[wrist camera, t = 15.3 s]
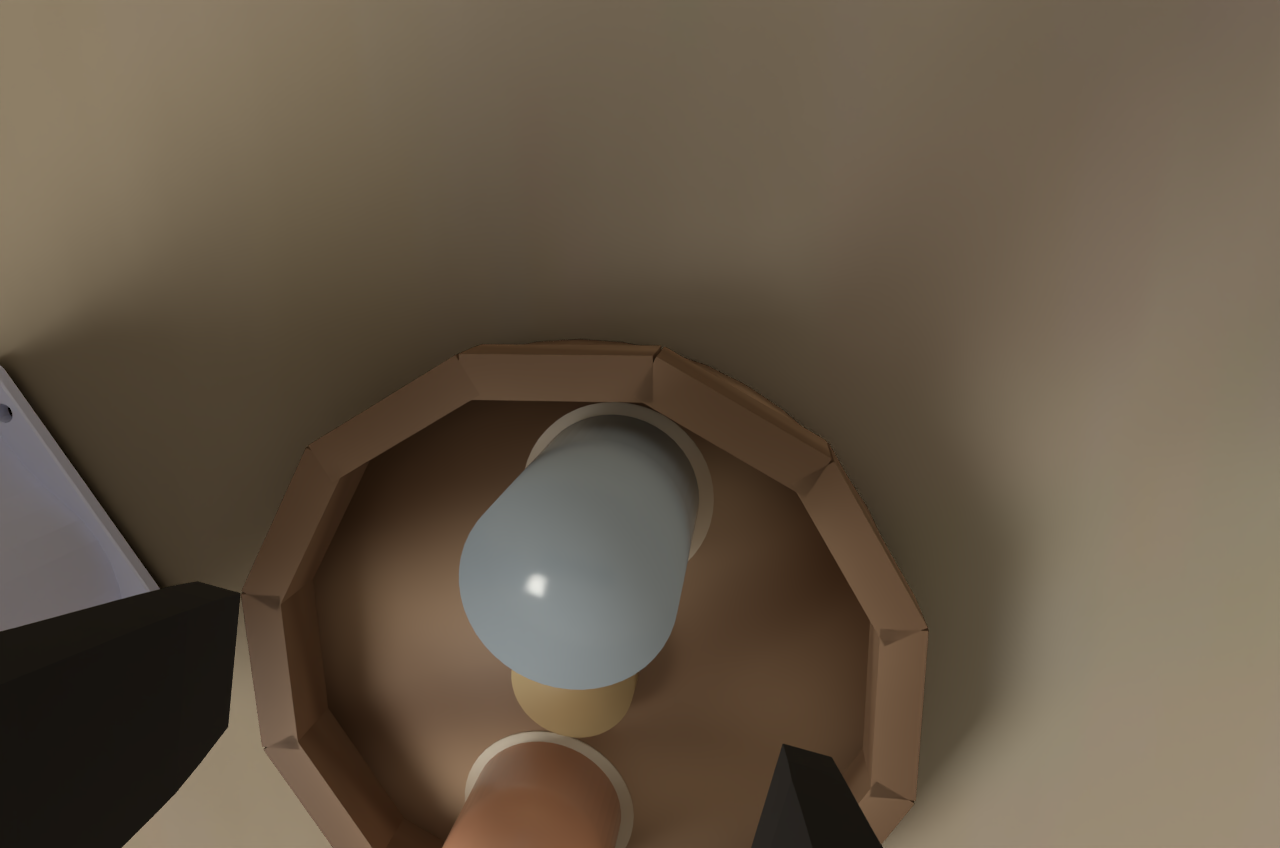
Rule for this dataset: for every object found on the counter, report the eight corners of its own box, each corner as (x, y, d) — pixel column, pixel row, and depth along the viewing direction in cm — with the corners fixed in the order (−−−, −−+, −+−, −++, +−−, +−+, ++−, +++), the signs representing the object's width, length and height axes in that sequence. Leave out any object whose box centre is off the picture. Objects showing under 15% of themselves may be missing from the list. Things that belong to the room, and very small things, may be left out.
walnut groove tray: (194, 521, 22) (126, 556, 20) (701, 211, 19) (692, 209, 16) (503, 967, 24) (475, 1048, 22) (1015, 771, 21) (1049, 843, 18)
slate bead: (567, 387, 19) (501, 446, 14) (726, 456, 19) (715, 540, 14) (509, 533, 20) (430, 635, 15) (659, 600, 20) (628, 723, 15)
